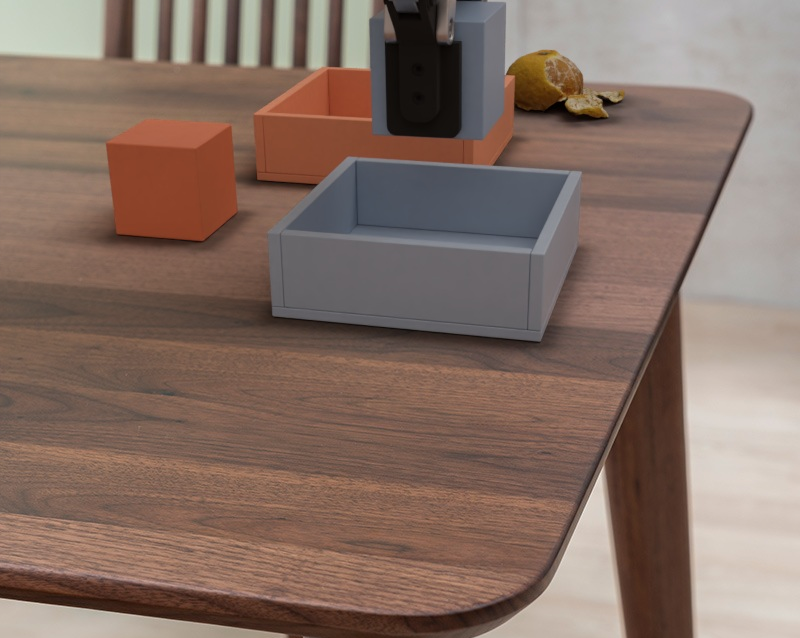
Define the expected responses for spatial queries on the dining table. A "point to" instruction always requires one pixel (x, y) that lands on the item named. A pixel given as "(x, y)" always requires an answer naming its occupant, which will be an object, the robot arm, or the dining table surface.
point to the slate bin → (428, 247)
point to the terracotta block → (172, 179)
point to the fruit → (555, 85)
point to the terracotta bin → (352, 130)
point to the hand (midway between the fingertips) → (439, 114)
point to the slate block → (480, 67)
